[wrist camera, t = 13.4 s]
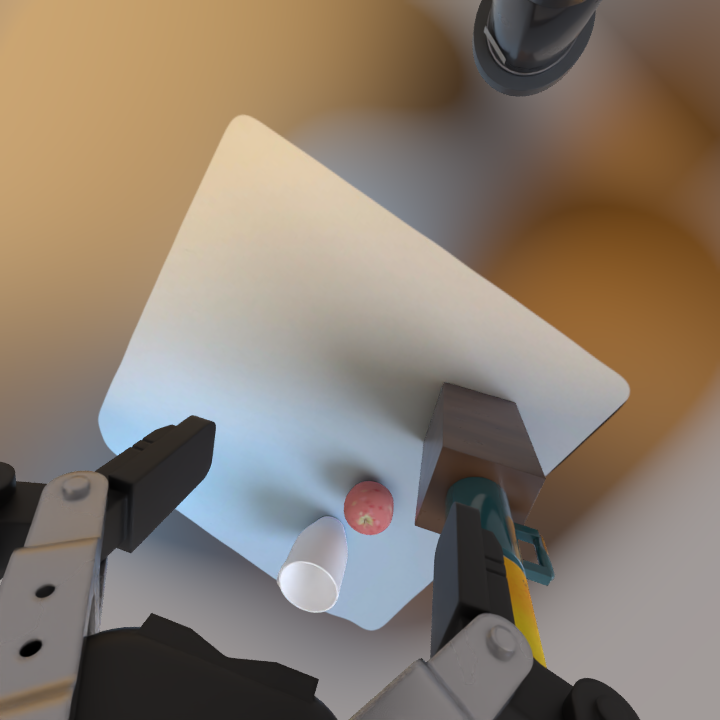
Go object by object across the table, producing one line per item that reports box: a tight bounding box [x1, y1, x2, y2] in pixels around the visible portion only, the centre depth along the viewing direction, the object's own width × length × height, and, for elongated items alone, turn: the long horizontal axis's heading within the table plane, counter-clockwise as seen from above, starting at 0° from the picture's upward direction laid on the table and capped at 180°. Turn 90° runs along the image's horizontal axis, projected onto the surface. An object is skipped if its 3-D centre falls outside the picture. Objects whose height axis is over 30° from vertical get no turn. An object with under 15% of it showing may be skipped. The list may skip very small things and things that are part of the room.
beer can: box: [503, 555, 547, 668], centre depth 25 cm, size 6×6×15 cm
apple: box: [344, 481, 393, 535], centre depth 60 cm, size 7×7×8 cm
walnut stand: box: [415, 382, 546, 534], centre depth 49 cm, size 10×10×18 cm
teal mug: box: [445, 477, 555, 586], centre depth 36 cm, size 6×9×9 cm
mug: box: [277, 516, 348, 612], centre depth 62 cm, size 12×9×12 cm
